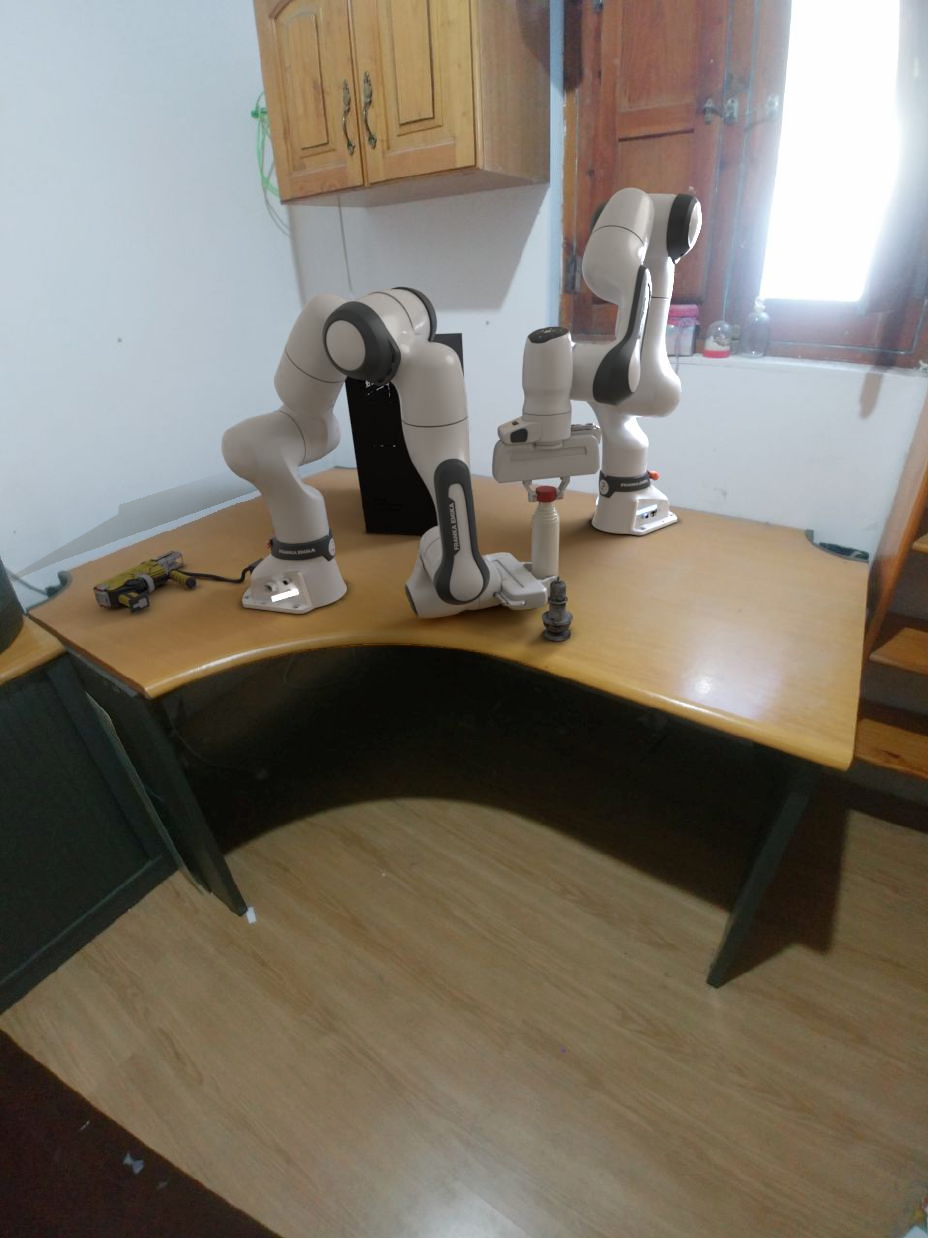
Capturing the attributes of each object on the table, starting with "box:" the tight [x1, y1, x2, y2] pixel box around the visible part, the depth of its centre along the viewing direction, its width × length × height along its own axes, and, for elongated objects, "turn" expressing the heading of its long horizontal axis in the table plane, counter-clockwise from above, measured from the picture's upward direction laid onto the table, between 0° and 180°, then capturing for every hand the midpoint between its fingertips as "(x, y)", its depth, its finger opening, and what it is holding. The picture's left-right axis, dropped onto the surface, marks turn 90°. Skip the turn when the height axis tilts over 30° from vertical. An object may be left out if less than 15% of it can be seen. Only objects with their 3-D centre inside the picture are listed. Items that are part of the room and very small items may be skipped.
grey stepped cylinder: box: [540, 575, 574, 642], centre depth 110 cm, size 6×6×12 cm
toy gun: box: [92, 549, 197, 614], centre depth 138 cm, size 5×24×15 cm
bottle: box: [530, 501, 561, 603], centre depth 121 cm, size 6×6×23 cm
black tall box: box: [344, 332, 465, 536], centre depth 165 cm, size 38×20×45 cm, turn 167°
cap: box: [535, 485, 557, 503], centre depth 116 cm, size 4×4×2 cm
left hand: (548, 572), depth 125 cm, fingers closed on bottle, 5 cm apart
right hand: (545, 500), depth 117 cm, fingers closed on cap, 4 cm apart
